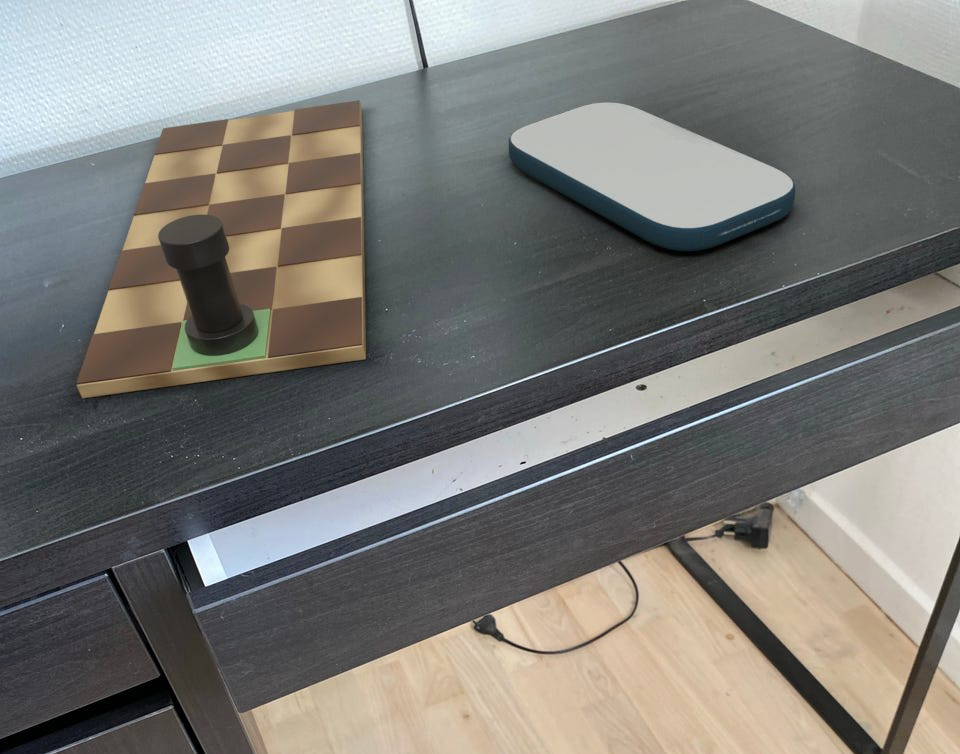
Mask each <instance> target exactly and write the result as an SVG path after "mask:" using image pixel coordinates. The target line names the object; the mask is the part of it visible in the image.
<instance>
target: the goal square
mask: <svg viewBox="0 0 960 754" xmlns="http://www.w3.org/2000/svg"><path fill="white" fill-rule="evenodd" d="M253 312H254V316H255V319H256V323H257V326H258V335H257V337H256V339H255V340H254V341H253V342H252V343H251V344H249V345H248V346H247V347H245V348H243V349H241V350H239V351H236V352H233V353H230V354H226V355H219V356H207V355H202V354H199V353H197V352H195V351H194V350H193V349H192V348H191V346H190V344H189V341H188V338H187V335H186V332H185V323H186V321H187V320H184V321H183V323H182V328H181V332H180V336H179V341H178V345H177V350H176V354H175V358H174V363H173V367H172V369H173V371H175V370H183V369H190V368H197V367H204V366H211V365H219V364H226V363H233V362H240V361H248V360H255V359H262V358H266V350H267V341H268V332H269V323H270V314H271V310H270V309H264V310H256V311H253Z"/></svg>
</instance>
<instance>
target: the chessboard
mask: <svg viewBox="0 0 960 754" xmlns="http://www.w3.org/2000/svg"><path fill="white" fill-rule="evenodd" d="M363 134H364V133H363V109H362V103H361V101H360V100H358V99H357V100H352V101H344V102H338V103H331V104H324V105H316V106H309V107H302V108H295V109H294V110H290V111H284V112H276V113H269V114H262V115H255V116H249V117H241V118H234V119H228V118H226V119H225V118H223V119H219V120H218V119H217V120H211V121H210V120H209V121H204V122H203V121H202V122H196V123H190V124H183V125H175V126H170V127H163V128H162V130H161V134H160V136H159V139H158V143H157V145H156V147H155V151H154V156H153V159H152V162H151V165H150V168H149V170H148V173H147V176H146V179H145V182H144V183H143V186H142V189H141V192H140V194H139V198H138V199H137V200H138V201H137V203H136V206H135V210H134V212H133V218H132V221H131V224H130V225H129V229H128V232H127V235H126V238H125V241H124V244H123V247H122V250H121V251H120V252H119V257H118V259H117V262H116V265H115V268H114V271H113V274H112V277H111V280H110V283H109V286H108V289H107V294H106V297H105V300H104V303H103V305H102V308H101V311H100V315H99V317H98V320H97V324H96V327H95V330H94V332H93V334H92V336H91V339H90V342H89V344H88V347H87V350H86V352H85V353H86V354H85V356H84V359H83V362H82V364H81V368H80V371H79V373H78V377H77V380H76V384H75V385H76V388H77V390H78V392H79V394H80V396H81V398H82V399H88V398H95V397H103V396H109V395H110V396H111V395H117V394H125V393H131V392H139V391H140V392H141V391H144V390H145V391H146V390H153V389H161V388H168V387H177V386H183V385H190V384H191V385H192V384H197V383H205V382H211V381H218V380H227V379H232V378H240V377H248V376H256V375H262V374H270V373H277V372H284V371H290V370H297V369H305V368H313V367H314V368H315V367H321V366H327V365H328V366H329V365H334V364H341V363H342V364H343V363H348V362H355V361H364V360H367V330H366V329H367V328H366V327H367V326H366V325H367V321H366V271H365V270H366V268H365V267H366V265H365V264H366V263H365V261H366V259H365V256H366V255H365V207H364V205H365V203H364V201H365V200H364V198H365V197H364V195H365V193H364V142H363V140H364V135H363ZM201 214H202V215H212V216H216V217H218V218H219V219H220V220H221V221H222V224H223V227H224V230H225V234H226V237H227V241H228V244H229V252H228V254H227V255H226V256H225V258H226V261H227V264H228V268H229V271H230V274H231V278H232V281H233V284H234V288H235V291H236V294H237V298H238V301H239V303H240V304H244V305H246V306H248V307H250V308H251V309H252V310H253V311H256V310H264V309H270V310H271V314H270V323H269V332H268V341H267V350H266V358H262V359H255V360H248V361H240V362H233V363H226V364H219V365H211V366H204V367H197V368H190V369H183V370H175V371H173V369H172V367H173V363H174V358H175V354H176V350H177V345H178V341H179V336H180V332H181V328H182V323H183V321H184V320H188V319H189V318H190V317H191V316H192V314H191V311H190V308H189V305H188V302H187V300H186V297H185V294H184V291H183V288H182V285H181V282H180V279H179V276H178V273H177V270H176V269H175V268H172V267H171V266H169V265H168V264H167V262H166V259H165V256H164V253H163V250H162V247H161V244H160V241H159V238H158V234H159V231H160V230H161V229H162V228H163V227H164V226H165V225H167V224H168V223H170V222H172V221H174V220H177V219H180V218H183V217H187V216H191V215H201Z"/></svg>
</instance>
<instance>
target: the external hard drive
mask: <svg viewBox="0 0 960 754" xmlns="http://www.w3.org/2000/svg"><path fill="white" fill-rule="evenodd" d="M508 155H509V156H508V157H509V159H510V161H511V163H512V165H514V166H515V167H516V168H517V169H518V170H519V171H521V172H523V173H525V174H526V175H527V176H530V177H531V178H532V179H533V178H534V179H535V180H537V181H539V182H541V184H544V185H546V186H547V187H549V188H551V189H553V190H555V191H557V192H559V193H560V194H562V195H563V196H566V197H567V198H569V199H571V200H572V201H574V202H576V203H578V204H579V205H582V206H583V207H585V208H587V209H588V210H591V211H592V212H594V213H596V214H598V216H599V215H600V216H601V217H603V218H605V219H606V220H608V221H610V222H612V223H614V224H616V225H617V226H619V227H621V228H622V229H624V230H626V231H627V232H630V233H631V234H633V235H635V236H637V237H639V238H640V239H642V240H643V241H646V242H647V243H650V244H652V245H654V246H657V247H659V248H663V249H665V250H670V251H676V252H697V251H703V250H708V249H713V248H715V247H717V246H720V245H723V244H726V243H728V242H730V241H732V240H735V239H737V238H740V237H742V236H745V235H748V234H749V233H752V232H754V231H756V230H760V229H761V228H764V227H766V226H769V225H772V224H773V223H775V222H777V221H779V220H781V219H783V218H784V217H787V216H788V215H789V214H790V212H791V211H792V209H793V207H794V204H795V198H796V184H795V182H794V180H793V179H792V177H791V176H790V175H789V174H787V173H786V172H784V171H782V170H780V169H779V168H777V167H775V166H772V165H770V164H769V163H765V162H763V161H762V160H759V159H757V158H755V157H752V156H749V155H747V154H745V153H742V152H741V151H738V150H736V149H734V148H732V147H728V146H727V145H724V144H722V143H720V142H717V141H715V140H713V139H710V138H709V137H706V136H703V135H701V134H699V133H696V132H694V131H693V130H692V131H691V130H690V129H688V128H685V127H682V126H680V125H678V124H675V123H673V122H671V121H669V120H666V119H664V118H662V117H661V116H657V115H655V114H653V113H650V112H648V111H646V110H643V109H641V108H639V107H636V106H633V105H629V104H626V103H621V102H611V101H603V102H602V101H601V102H593V103H589V104H584V105H580V106H577V107H575V108H571V109H569V110H566V111H563V112H561V113H557V114H555V115H551V116H549V117H545V118H543V119H541V120H537V121H534V122H532V123H529V124H527V125H524V126H521V127H519V128H517V129H516V130H514V131H512V133H511V135H510V136H509V138H508Z"/></svg>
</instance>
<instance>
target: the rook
mask: <svg viewBox="0 0 960 754" xmlns="http://www.w3.org/2000/svg"><path fill="white" fill-rule="evenodd" d="M158 238H159V241H160V244H161V247H162V250H163V253H164V256H165V259H166V262H167V264H168V265H169V266H171V267H172V268H175V269H176V270H177V273H178V276H179V279H180V282H181V285H182V288H183V291H184V294H185V297H186V300H187V302H188V305H189V308H190V311H191V314H192V316H191V317H190V318H189V319H188V320H187V321H186V323H185V332H186V335H187V338H188V341H189V344H190V346H191V348H192V349H193V350H194V351H195V352H197V353H199V354H202V355H207V356H219V355H226V354H230V353H233V352H236V351H239V350H241V349H243V348H245V347H247V346H248V345H249V344H251V343H252V342H253V341H254V340H255V339H256V337H257V335H258V326H257V323H256V319H255V316H254V312H253V310H252V309H251V308H250V307H248V306H246V305H244V304H240V303H239V301H238V298H237V294H236V291H235V288H234V284H233V281H232V278H231V274H230V271H229V268H228V264H227V261H226V258H225V256H226V255H227V254H228V252H229V244H228V241H227V237H226V234H225V230H224V227H223V224H222V221H221V220H220V219H219V218H218V217H216V216H212V215H202V214H201V215H191V216H187V217H183V218H180V219H177V220H174V221H172V222H170V223H168V224H167V225H165V226H164V227H163V228H162V229H161V230H160V231H159V234H158Z"/></svg>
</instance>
